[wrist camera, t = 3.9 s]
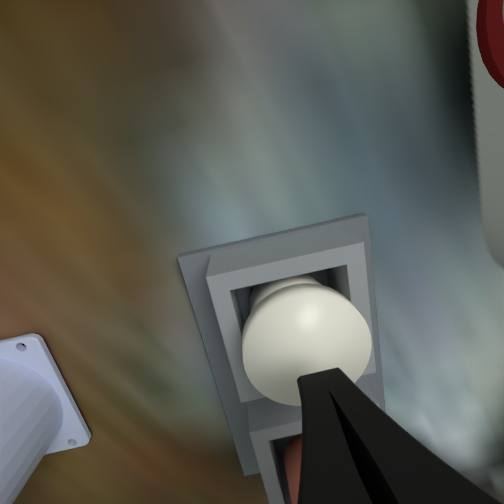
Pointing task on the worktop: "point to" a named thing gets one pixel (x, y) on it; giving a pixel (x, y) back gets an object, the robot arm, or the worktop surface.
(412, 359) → the worktop surface
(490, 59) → the canned food
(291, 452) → the red plug
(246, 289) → the socket board
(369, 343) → the cream plug
